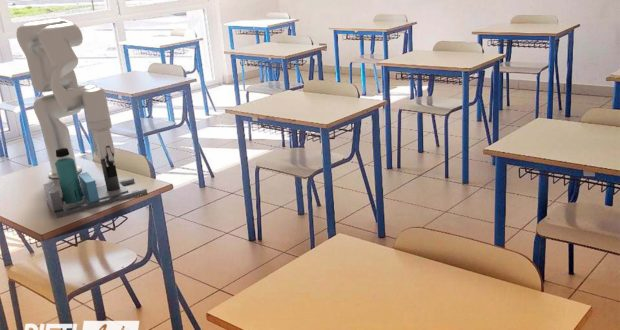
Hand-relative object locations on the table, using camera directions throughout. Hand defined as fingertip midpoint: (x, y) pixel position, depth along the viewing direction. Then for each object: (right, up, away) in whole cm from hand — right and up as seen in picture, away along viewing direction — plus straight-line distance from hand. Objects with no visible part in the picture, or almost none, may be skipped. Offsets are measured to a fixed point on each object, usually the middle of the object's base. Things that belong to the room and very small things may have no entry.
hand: (110, 174), depth 220 cm
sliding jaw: (-2, -7, +1) cm, 7 cm away
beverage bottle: (-11, -10, -4) cm, 16 cm away
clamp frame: (-4, -8, 0) cm, 9 cm away
